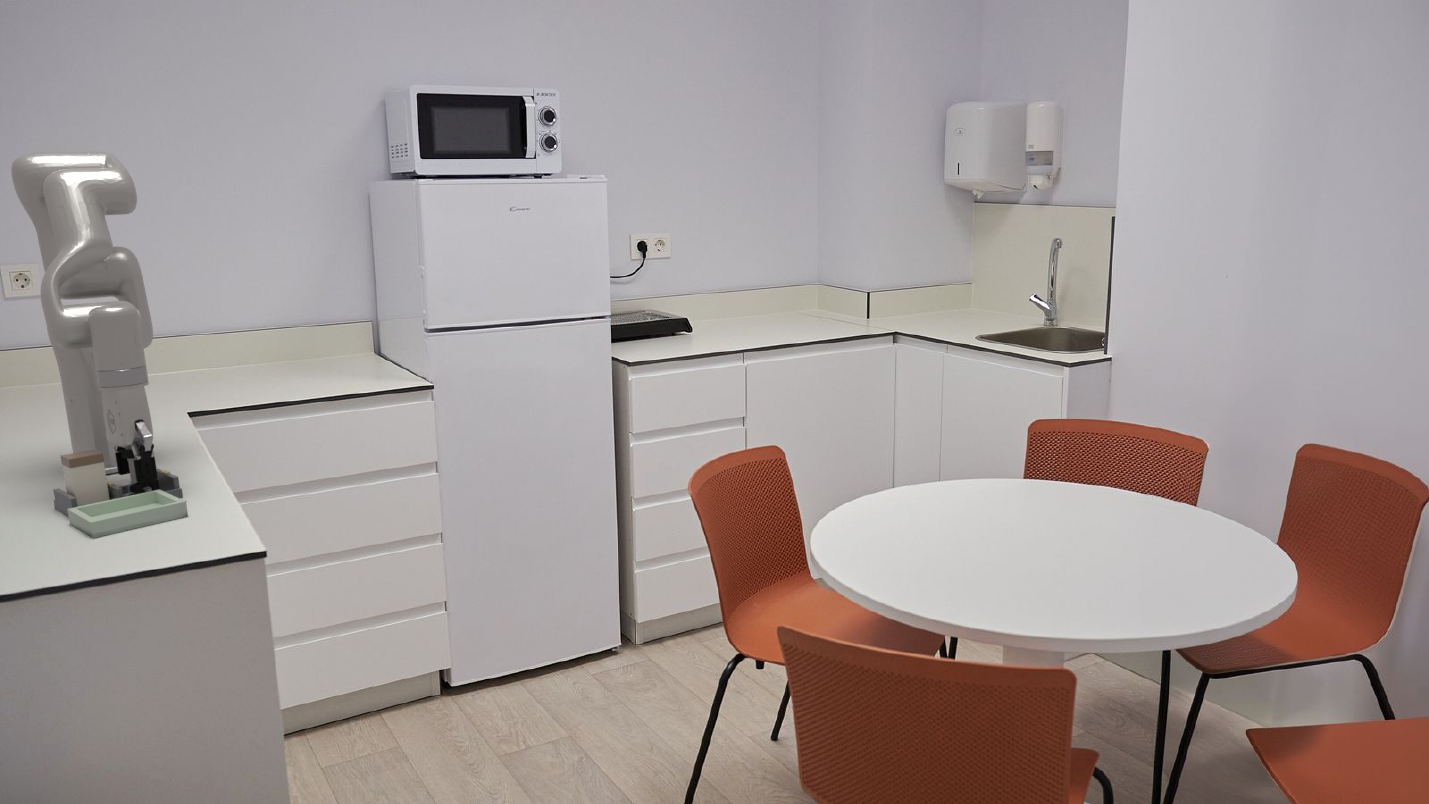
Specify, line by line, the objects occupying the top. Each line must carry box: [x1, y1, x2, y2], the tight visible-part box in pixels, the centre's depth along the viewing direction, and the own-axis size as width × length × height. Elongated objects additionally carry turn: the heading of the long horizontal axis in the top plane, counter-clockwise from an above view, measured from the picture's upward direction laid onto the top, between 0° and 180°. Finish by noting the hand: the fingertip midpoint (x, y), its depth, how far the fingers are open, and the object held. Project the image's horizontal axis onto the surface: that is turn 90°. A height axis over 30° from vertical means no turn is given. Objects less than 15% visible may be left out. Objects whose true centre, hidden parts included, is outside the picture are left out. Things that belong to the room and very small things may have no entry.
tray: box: [67, 489, 189, 539], centre depth 176 cm, size 12×14×2 cm
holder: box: [52, 468, 184, 517], centre depth 187 cm, size 12×17×4 cm
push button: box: [119, 440, 159, 497], centre depth 189 cm, size 7×5×10 cm
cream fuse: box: [60, 450, 110, 507], centre depth 183 cm, size 5×5×10 cm
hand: (137, 476), depth 189 cm, fingers open, 8 cm apart
